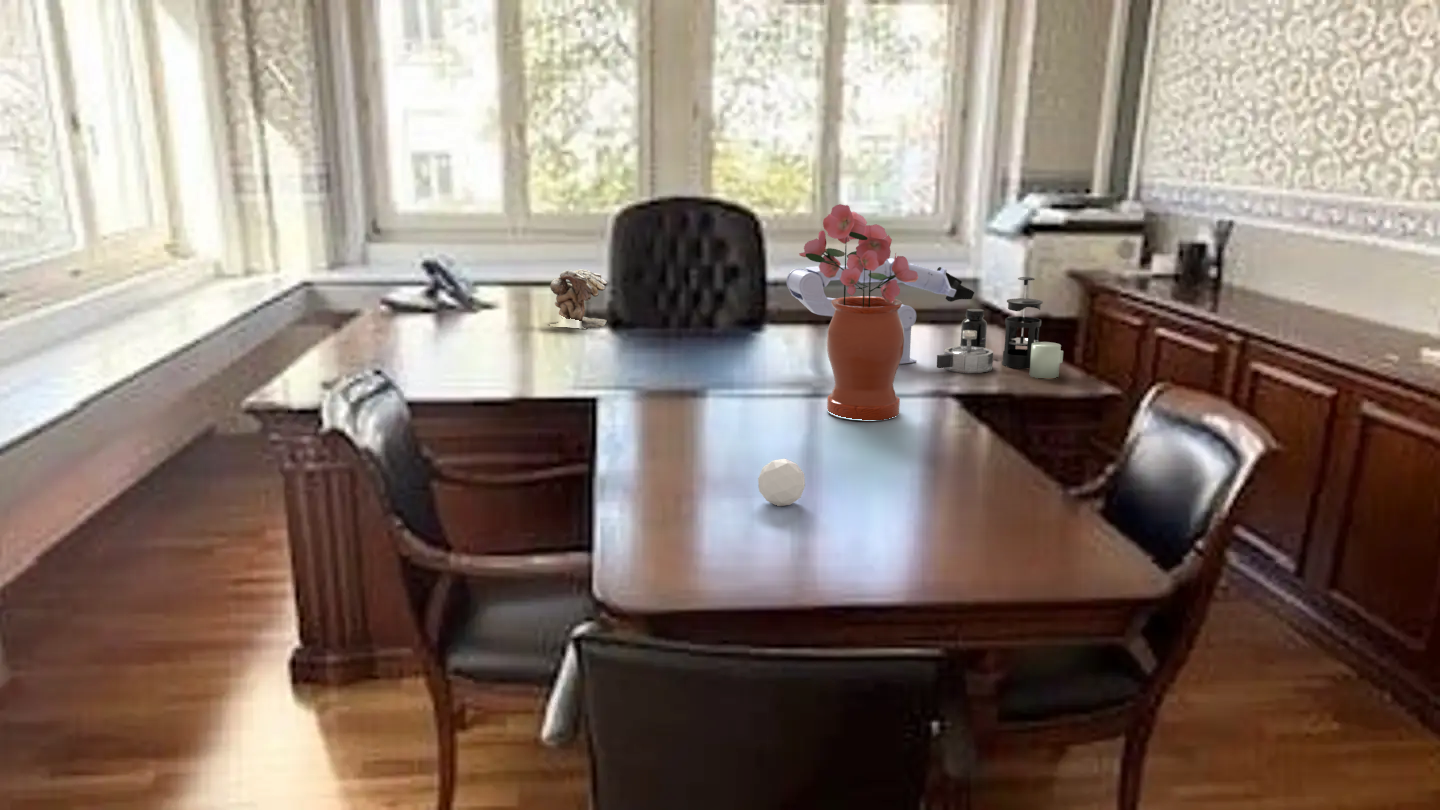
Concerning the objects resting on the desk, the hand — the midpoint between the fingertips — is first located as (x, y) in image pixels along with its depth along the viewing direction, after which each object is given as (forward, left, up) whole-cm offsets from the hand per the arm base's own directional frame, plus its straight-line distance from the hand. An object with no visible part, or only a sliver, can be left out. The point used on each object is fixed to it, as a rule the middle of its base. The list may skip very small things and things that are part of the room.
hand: (966, 289), depth 281 cm
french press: (+7, -15, -18) cm, 25 cm away
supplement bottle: (+5, +2, -18) cm, 19 cm away
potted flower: (-56, -37, -18) cm, 69 cm away
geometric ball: (-98, -82, -18) cm, 129 cm away
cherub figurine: (-80, +92, -18) cm, 123 cm away
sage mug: (+4, -28, -18) cm, 33 cm away
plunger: (-8, -13, -15) cm, 21 cm away
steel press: (-10, -13, -18) cm, 24 cm away
